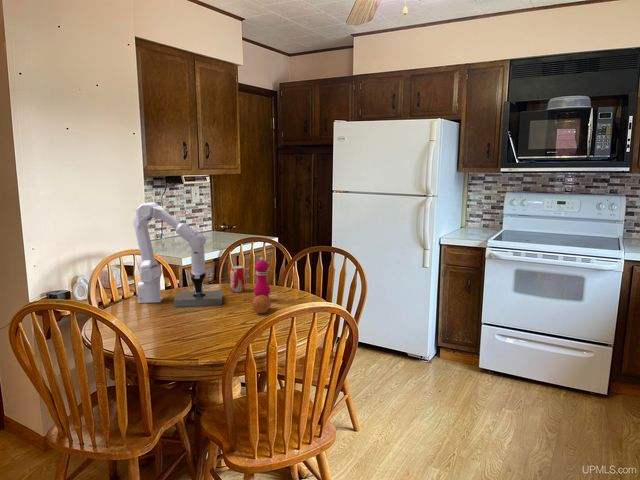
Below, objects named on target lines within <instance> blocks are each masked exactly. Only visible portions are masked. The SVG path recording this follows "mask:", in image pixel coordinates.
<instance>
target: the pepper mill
mask: <svg viewBox="0 0 640 480" xmlns="http://www.w3.org/2000/svg"><path fill="white" fill-rule="evenodd" d="M254 265H255V266H254V268H255V270H256V275H257V281H256V284H255V286H254V289H253V293H254V295H255V297H254V299H255V298H256V297H257V296H258V295H265V296H267V297H268V298H269V299H270V296H269V295H270V293H271V288H270V285H269V283H268V280H267V279H268V278H267V275H268V269H269V263H268V261H266V260H265V259H264V257H263V256H261V257H259V260H258V261H256V263H255V264H254Z"/></svg>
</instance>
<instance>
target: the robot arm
mask: <svg viewBox="0 0 640 480" xmlns="http://www.w3.org/2000/svg"><path fill="white" fill-rule="evenodd" d="M152 219H160V220H161V221H163V222H165V223H166V224H167V225H169V226H170V227H172V228H173V229H175V233H176V234H177V235H178V236H179V237H181V238H182V239H184V240H185V242H188V245H189V246H190V250H191V251H190V256H191V257H190V261H191V262H190V263H191V271H190V272H191V274H192V276H191V278H190V279H191V281H192V283H193V287H194V286H195V291H196V293H201V290H202V283H203V284H204V279H205V277H206V274H207V273H208V272H209V271H208V269H207V270H206V264H205V260H206V258H205V244H206V241H207V240H206V237H205V235H204V234H203V233H200V232H199V231H198V230H195V229H193V228H192V227H190V224H189V223H185V222H179V220H178V219H176V218H175V217H174V216H172V215H171V213H169V212H168V211H167V210H165V209H164V208H163V206H161V205H159V204H158V203H156V202H155V201H152V202H147V203H141V204H139V205H138V207H137V208H136V209H135V216H134V219H133V227H134V231H135V234H136V235H135V236H136V241H137V245H138V249H139V253H140V257H141V264H140V267H139V268H140V275H139V276H140V279H141V281H138V284H137V300H138V301H137V302H138V304H151V303H161V302H162V300H163V298H164V297H163V296H161V295H162V294H161V292H162V291H161V278H160V277H161V276H162V274H163V270H162V268H161V267H160V265H159V262H158V260H157V259H156V258H155V253H154V249H153V246H152V240H151V236H150V232H149V228H148V227H149V226H148V224H149V223H150V222H151V221H152Z"/></svg>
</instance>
